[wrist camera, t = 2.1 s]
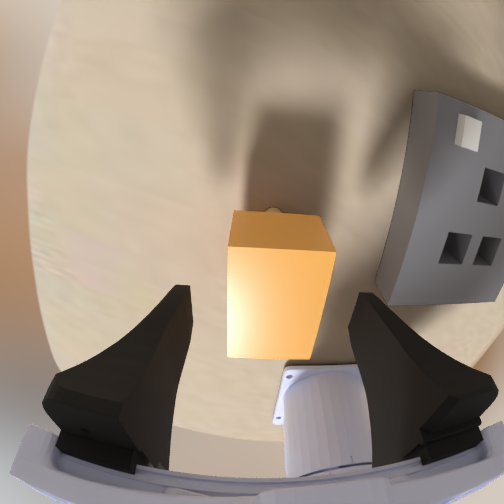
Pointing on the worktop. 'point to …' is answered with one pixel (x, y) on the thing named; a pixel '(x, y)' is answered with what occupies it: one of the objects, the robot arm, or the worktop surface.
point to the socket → (447, 208)
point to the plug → (276, 283)
